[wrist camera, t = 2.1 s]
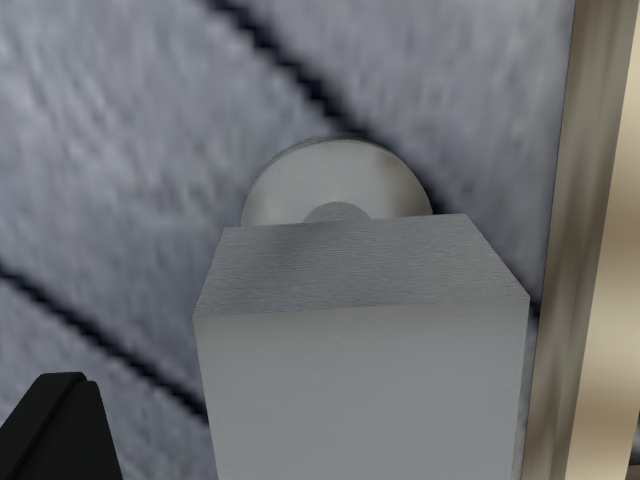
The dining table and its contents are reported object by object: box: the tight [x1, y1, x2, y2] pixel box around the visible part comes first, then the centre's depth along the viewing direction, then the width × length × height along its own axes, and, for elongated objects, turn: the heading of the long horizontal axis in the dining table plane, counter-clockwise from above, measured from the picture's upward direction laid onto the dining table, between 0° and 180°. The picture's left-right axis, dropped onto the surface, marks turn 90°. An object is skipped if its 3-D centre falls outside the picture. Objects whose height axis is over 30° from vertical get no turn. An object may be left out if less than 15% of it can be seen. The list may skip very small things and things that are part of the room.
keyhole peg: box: [192, 135, 530, 480], centre depth 14 cm, size 6×6×10 cm
